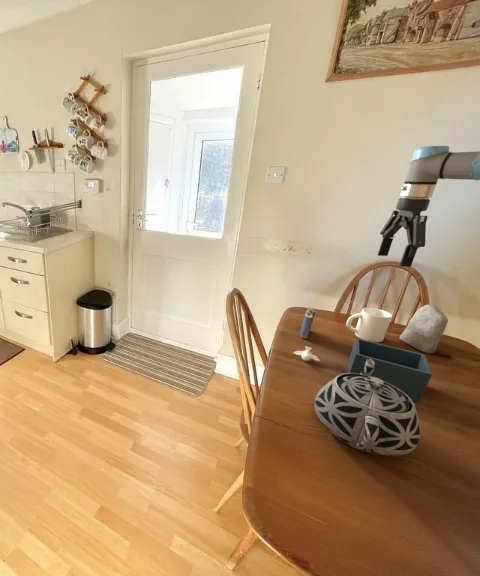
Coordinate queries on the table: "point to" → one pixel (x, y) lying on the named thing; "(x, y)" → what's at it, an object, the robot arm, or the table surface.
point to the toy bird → (306, 354)
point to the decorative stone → (425, 329)
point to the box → (392, 366)
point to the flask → (307, 323)
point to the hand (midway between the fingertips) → (392, 260)
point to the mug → (370, 324)
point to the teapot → (369, 413)
